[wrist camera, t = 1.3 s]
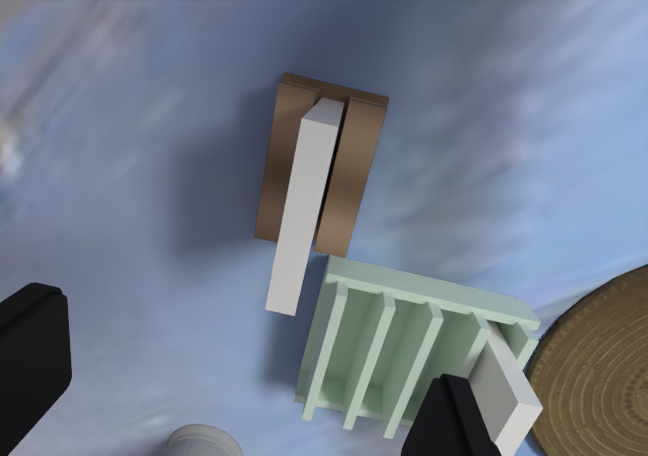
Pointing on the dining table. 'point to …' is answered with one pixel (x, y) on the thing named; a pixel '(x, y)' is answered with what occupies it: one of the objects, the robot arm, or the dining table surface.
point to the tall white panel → (303, 203)
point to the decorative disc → (596, 374)
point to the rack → (416, 349)
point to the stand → (345, 168)
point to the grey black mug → (202, 442)
